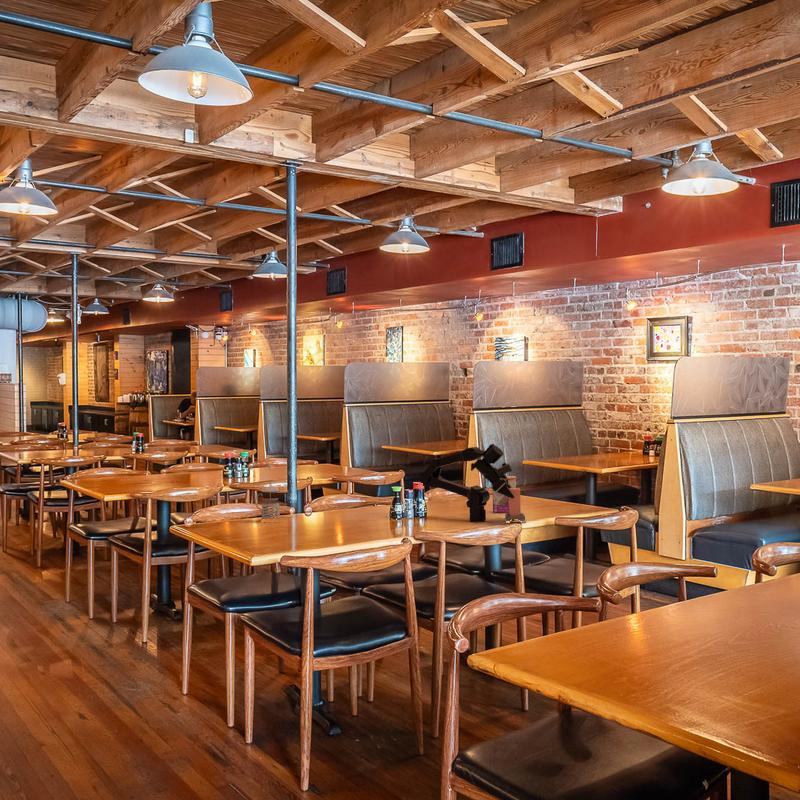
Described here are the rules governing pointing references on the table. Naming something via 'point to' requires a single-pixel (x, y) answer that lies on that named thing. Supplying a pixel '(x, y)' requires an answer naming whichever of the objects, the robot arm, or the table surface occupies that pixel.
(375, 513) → the table surface
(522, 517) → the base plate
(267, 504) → the french press
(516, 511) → the column
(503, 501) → the candy bar box
